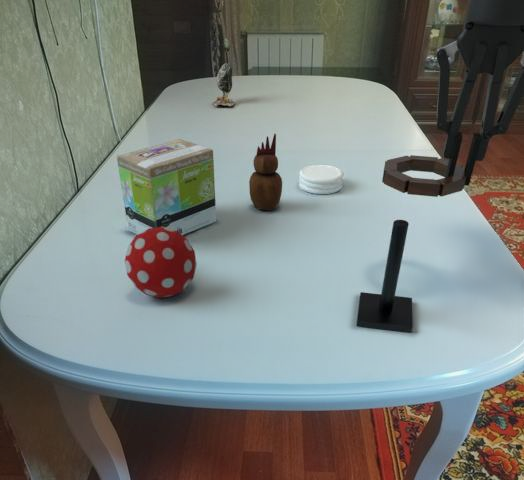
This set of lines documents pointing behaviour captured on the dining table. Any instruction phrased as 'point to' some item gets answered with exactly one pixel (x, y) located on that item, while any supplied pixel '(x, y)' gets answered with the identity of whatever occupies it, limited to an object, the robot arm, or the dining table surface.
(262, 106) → the dining table surface
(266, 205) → the wooden figurine
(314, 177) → the coaster
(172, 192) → the tea box
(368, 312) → the stand
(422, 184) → the ring
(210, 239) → the dining table surface
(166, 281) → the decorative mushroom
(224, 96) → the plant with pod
